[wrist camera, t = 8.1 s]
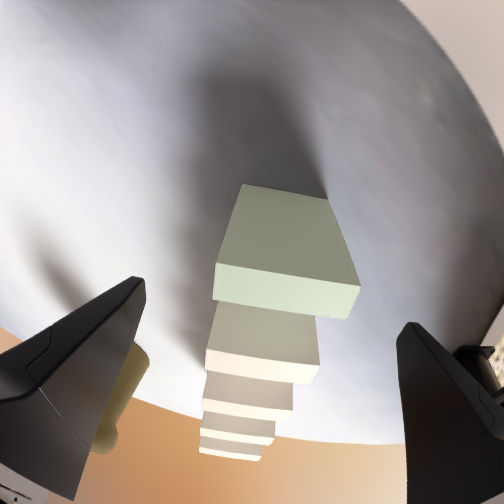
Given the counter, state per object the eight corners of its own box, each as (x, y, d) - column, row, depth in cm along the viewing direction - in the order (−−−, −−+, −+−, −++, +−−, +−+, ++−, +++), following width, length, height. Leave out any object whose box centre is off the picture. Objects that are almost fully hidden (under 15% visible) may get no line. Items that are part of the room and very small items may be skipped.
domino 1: (231, 250, 19) (206, 348, 12) (308, 264, 19) (319, 365, 12) (228, 270, 20) (204, 369, 13) (301, 283, 20) (308, 384, 13)
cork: (88, 327, 25) (39, 418, 15) (143, 339, 24) (101, 445, 15) (105, 364, 28) (68, 446, 18) (154, 376, 28) (124, 467, 18)
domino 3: (218, 341, 23) (200, 427, 17) (277, 351, 24) (274, 438, 17) (216, 353, 24) (200, 435, 18) (273, 362, 24) (269, 445, 18)
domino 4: (214, 371, 26) (199, 446, 19) (266, 379, 26) (261, 456, 19) (213, 379, 27) (199, 452, 20) (263, 388, 27) (258, 461, 20)
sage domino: (242, 183, 16) (215, 262, 10) (328, 199, 16) (361, 286, 10) (238, 209, 17) (212, 299, 10) (321, 224, 17) (346, 319, 10)
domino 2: (223, 302, 21) (202, 397, 14) (291, 314, 21) (292, 410, 14) (221, 317, 22) (201, 410, 15) (286, 328, 22) (285, 421, 15)
